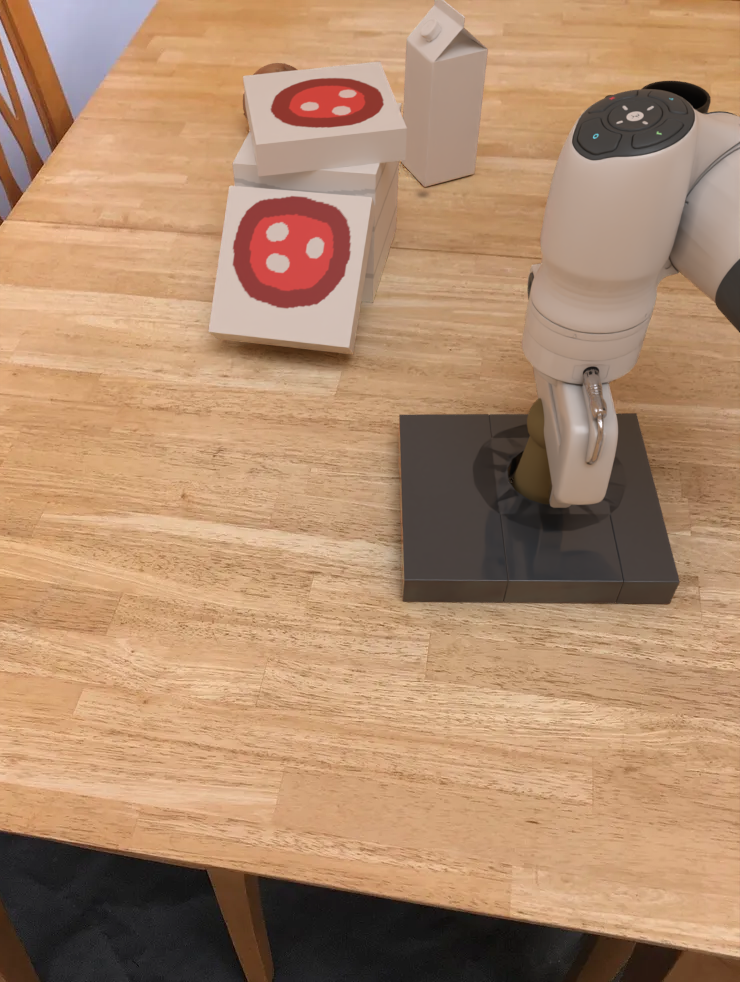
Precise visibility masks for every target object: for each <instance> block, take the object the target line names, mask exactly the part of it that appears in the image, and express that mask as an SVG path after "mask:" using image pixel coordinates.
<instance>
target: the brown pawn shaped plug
mask: <svg viewBox="0 0 740 982" xmlns="http://www.w3.org/2000/svg"><path fill="white" fill-rule="evenodd" d="M527 414H528V417H527V428H528V433H529V435H530V437H529V439H528V442H527V444H526V447H525V449H524V452H523V455H522V457H521V460H520V462H519V465H518V467H517V470H516V472H515V475H514V477H513V478H512V479H511V481H510V483H511V484H512V486H513V487H514V489H515V490H516V491H517V492H519V493H520V494H522V495H523V496H525V497H526V498H528V499H529V500H532V501H536V502H539V503H543V504H550V501H549V494H548V491H549V487H550V482H551V475H550V469H549V463H548V457H547V451H546V445H545V439H544V411H543V405H542V400H541V398H539V399H538V398H537V400H535V401H534V402H533V403H532V404H531V407H530V408H529V411H528V413H527Z"/></svg>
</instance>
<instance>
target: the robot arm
mask: <svg viewBox="0 0 740 982" xmlns="http://www.w3.org/2000/svg"><path fill="white" fill-rule="evenodd" d="M610 95H611V96H609V97H606V96H605V97H606V98H605V97H604V98H601V99H599V100H598V101H595V102H594V103H593V104H591V105H589V106H588V108H586V109H585V110H584V111H583V112H582V113H581V114H580V115H579V117H578V118H577V119H576V121H575V122H574V124H573V126H572V127H571V129H570V130H569V132H568V134H567V137H566V139H565V141H564V143H563V145H562V147H561V150H560V152H559V155H558V158H557V161H556V164H555V167H554V170H553V174H552V178H551V181H550V184H549V190H548V192H547V193H548V194H547V197H546V203H545V207H544V212H543V218H542V224H541V230H540V235H539V236H540V237H539V246H540V253H541V260H540V262H539V263H532V264H531V265H530V267H529V270H528V276H527V284H526V285H527V291H526V292H527V305H526V311H525V316H524V324H523V331H522V335H521V350H522V353H523V356H524V358H525V359H526V360H527V362H528V363H529V364H530V365H531V366H532V370H533V378H534V382H535V383H534V385H535V389H536V395H537V400H538V399H539V398H541V400H542V405H543V411H544V439H545V445H546V451H547V457H548V463H549V469H550V475H551V482H550V487H549V491H548V494H549V501H550V506H551V507H553V508H567V507H569V506H571V505H590V504H596V503H599V502H601V501H602V500H603V499H604V497H605V494H606V491H607V487H608V483H609V479H610V475H611V471H612V466H613V462H614V458H615V453H616V447H617V440H618V422H617V416H616V413H617V412H616V407H615V404H614V399H613V394H612V391H611V387H610V383H611V382H612V381H616V380H618V379H620V378H622V377H624V376H626V375H627V374H628V373H630V371H632V370H633V369H634V368H635V366H636V365H637V364H638V361H639V358H640V356H641V352H642V349H643V346H644V343H645V339H646V336H647V332H648V329H649V325H650V322H651V319H652V316H653V313H654V310H655V307H656V302H657V296H658V294H657V293H658V288H659V284H660V282H662V281H663V280H664V279H665V278H667V277H669V276H673V275H678V274H681V275H682V276H683V277H684V278H685V279H686V280H688V281H689V282H690V283H691V284H692V285H694V287H696V288H697V289H698V290H699V291H701V293H702V294H704V295H705V296H706V297H708V299H710V300H711V301H712V302H713V303H714V304H715V306H716V308H717V309H718V310H719V312H720V313H721V314H722V315H723V316H724V318H726V319H727V321H728V322H729V323H730V324H731V325H732V326H733V328H735V329H736V330H737V332H738V333H739V334H740V116H739V115H737V114H735V113H732V112H729V111H724V110H722V111H721V110H717V111H715V110H714V111H708V113H705V114H702V113H700V112H698V111H697V110H695V109H694V108H693V107H692V106H691V104H690V103H689V102H688V101H686V100H685V99H684V98H682V97H680V96H678V95H676V94H674V93H671V92H667V91H663V90H655V89H642V88H640V89H639V88H638V89H630V90H625V91H622V92H618V93H613V94H610Z"/></svg>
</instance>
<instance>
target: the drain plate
mask: <svg viewBox="0 0 740 982" xmlns="http://www.w3.org/2000/svg"><path fill="white" fill-rule="evenodd" d="M616 416H617V422H618V440H617V447H616V453H615V458H614V462H613V466H612V471H611V475H610V479H609V483H608V487H607V491H606V494H605V497H604V499H603V500H602V501H601V502H599V503H596V504H590V505H571V506H569V507H567V508H553V507H551V506H550V504H543V503H539V502H536V501H532V500H529V499H528V498H526V497H525V496H523V495H522V494H520V493H519V492H517V491H516V490H515V489H514V487H513V486H512V484H511V481H512V480H513V477H514V475H515V472H516V470H517V467H518V465H519V462H520V460H521V457H522V455H523V452H524V449H525V447H526V444H527V442H528V439H529V437H530V435H529V433H528V428H527V417H528V413H490V414H489V413H467V414H466V413H446V414H445V413H442V414H439V413H438V414H434V413H432V414H429V413H427V414H425V413H423V414H422V413H421V414H419V413H417V414H416V413H415V414H399V416H398V428H397V429H398V432H397V435H398V436H397V446H398V447H397V449H398V450H397V451H398V453H397V454H398V485H399V486H398V488H399V489H398V490H399V516H400V517H399V522H400V523H399V525H400V552H401V553H400V557H401V560H400V561H401V593H402V594H401V595H402V597H401V598H402V602H403V603H405V602H408V603H411V602H412V603H513V604H514V603H516V604H517V603H519V604H520V603H521V604H523V603H525V604H529V603H530V604H621V605H622V604H624V605H625V604H628V605H629V604H630V605H631V604H632V605H633V604H634V605H636V604H637V605H670V604H671V602H672V599H673V598H674V597H675V594H676V592H677V589H678V587H679V585H680V583H681V582H680V577H679V573H678V569H677V566H676V562H675V558H674V554H673V550H672V546H671V542H670V538H669V535H668V534H669V533H668V530H667V527H666V523H665V518H664V515H663V511H662V508H661V502H660V499H659V496H658V491H657V488H656V484H655V480H654V476H653V473H652V468H651V465H650V460H649V455H648V452H647V448H646V445H645V441H644V436H643V432H642V429H641V425H640V421H639V417H638V413H635V412H630V413H628V412H626V413H625V412H624V413H623V412H621V413H620V412H619V413H618V412H616Z"/></svg>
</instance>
